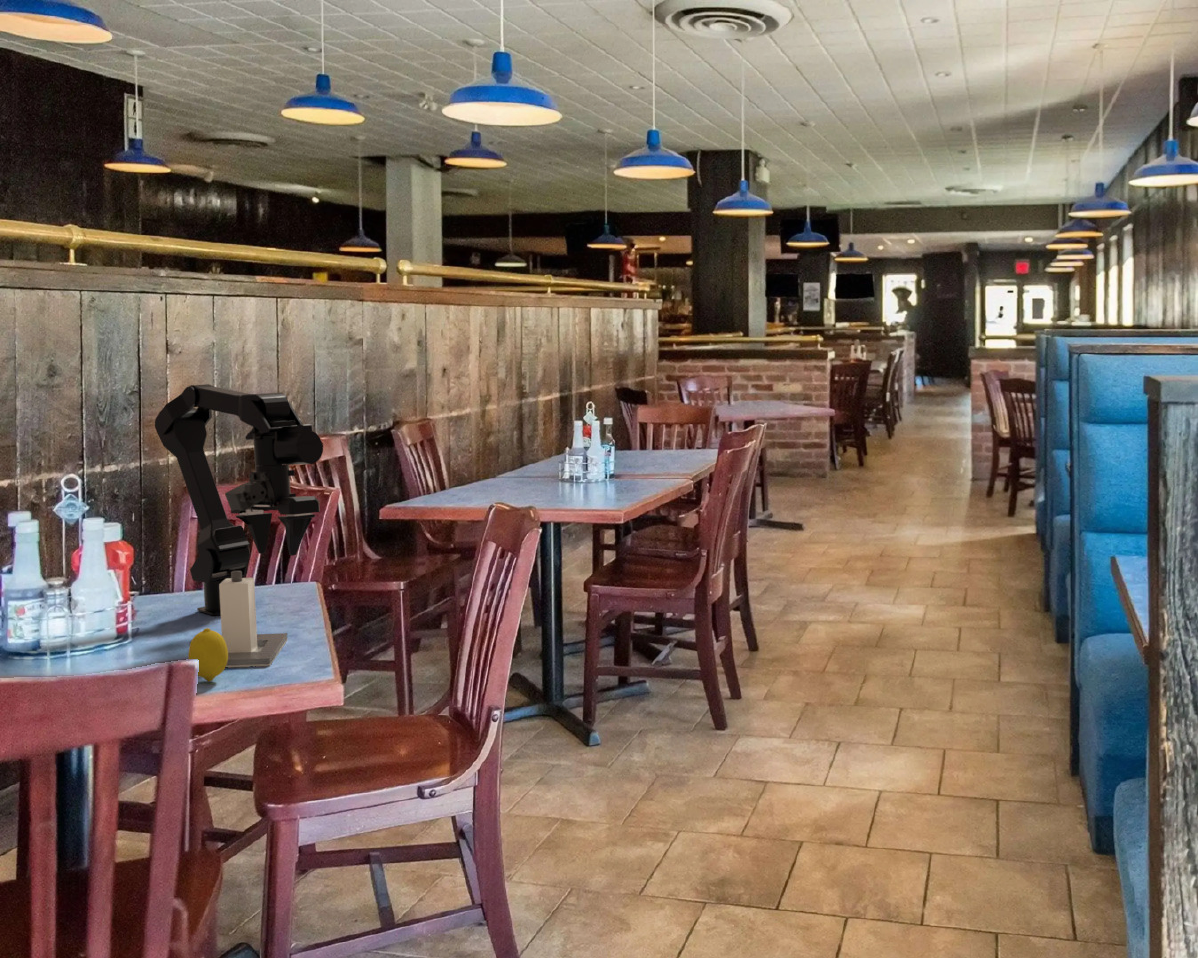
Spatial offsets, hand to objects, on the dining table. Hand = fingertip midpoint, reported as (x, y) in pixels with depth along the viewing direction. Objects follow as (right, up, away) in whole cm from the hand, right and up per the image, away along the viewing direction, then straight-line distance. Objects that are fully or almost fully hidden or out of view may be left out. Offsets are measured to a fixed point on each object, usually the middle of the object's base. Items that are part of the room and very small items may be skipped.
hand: (277, 554), depth 216 cm
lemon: (-1, -17, -34) cm, 38 cm away
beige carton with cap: (-1, -14, -19) cm, 24 cm away
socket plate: (-1, -15, -19) cm, 24 cm away
